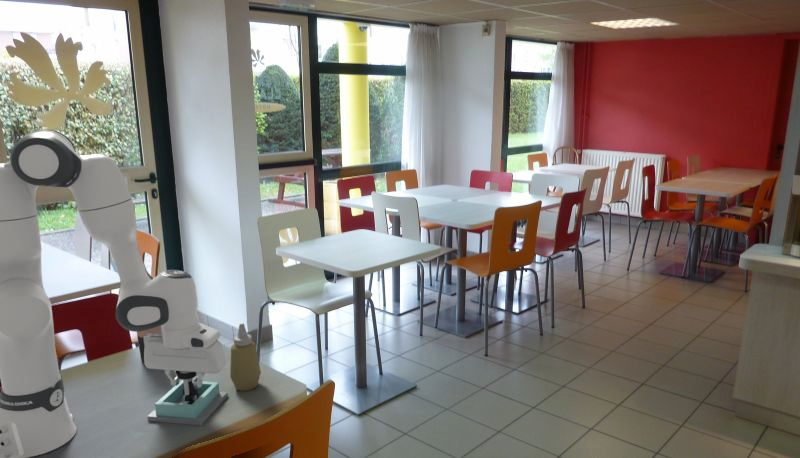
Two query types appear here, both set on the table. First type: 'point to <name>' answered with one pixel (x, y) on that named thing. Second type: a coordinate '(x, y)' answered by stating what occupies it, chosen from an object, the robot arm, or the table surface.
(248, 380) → the squeeze bottle
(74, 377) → the table surface
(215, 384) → the socket plate
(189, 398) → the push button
